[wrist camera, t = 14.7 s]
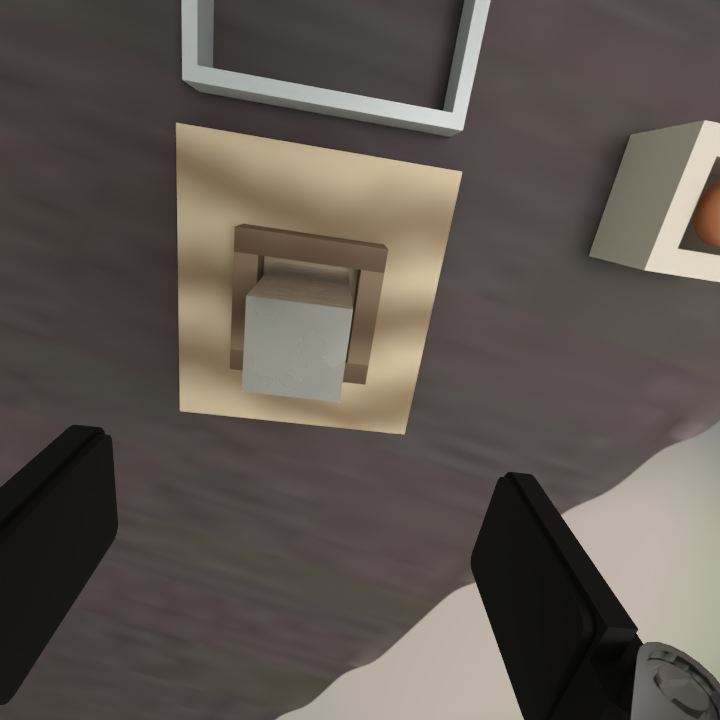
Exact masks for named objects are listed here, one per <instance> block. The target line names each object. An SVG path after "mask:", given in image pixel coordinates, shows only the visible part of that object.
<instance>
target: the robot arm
mask: <svg viewBox="0 0 720 720" xmlns="http://www.w3.org/2000/svg"><path fill="white" fill-rule="evenodd" d="M117 529H118V518H117V504H116V490H115V476H114V462H113V448H112V438H111V436H110V435H106V434H105V432H104V430H103V429H102V428H100V427H92V426H83V425H72V426H70V427H69V428H68V429H66V430H65V431H64V432H63V433H62V434H61V435H60V436H58V437H57V438H56V439H55V440H54V441H53V442H52V443H51V444H49V445H48V446H47V447H46V448H45V449H44V450H43V451H41V452H40V453H39V454H38V455H37V456H36V457H35V458H33V459H32V460H31V461H30V462H29V463H28V464H27V465H25V466H24V467H23V468H22V469H21V470H20V471H19V472H18V473H16V474H15V475H14V476H13V477H12V478H11V479H10V480H8V481H7V482H6V483H5V484H4V485H3V486H2V487H0V705H4V704H6V703H8V702H9V701H10V700H11V699H12V697H13V696H14V695H15V693H16V692H17V690H18V689H19V687H20V686H21V684H22V682H23V681H24V679H25V678H26V676H27V675H28V673H29V672H30V670H31V668H32V667H33V665H34V664H35V662H36V661H37V659H38V658H39V656H40V654H41V653H42V651H43V650H44V648H45V647H46V645H47V644H48V642H49V640H50V639H51V637H52V636H53V634H54V633H55V631H56V630H57V628H58V626H59V625H60V623H61V622H62V620H63V619H64V617H65V616H66V614H67V612H68V611H69V609H70V608H71V606H72V605H73V603H74V602H75V600H76V598H77V597H78V595H79V594H80V592H81V591H82V589H83V588H84V586H85V584H86V583H87V581H88V580H89V578H90V577H91V575H92V574H93V572H94V570H95V569H96V567H97V566H98V564H99V563H100V561H101V560H102V558H103V556H104V555H105V553H106V552H107V550H108V549H109V547H110V546H111V544H112V542H113V541H114V539H115V536H116V533H117ZM471 569H472V572H473V575H474V578H475V581H476V584H477V587H478V589H479V593H480V595H481V598H482V601H483V604H484V607H485V610H486V612H487V615H488V618H489V621H490V624H491V627H492V630H493V633H494V635H495V638H496V641H497V644H498V647H499V650H500V653H501V655H502V658H503V661H504V664H505V667H506V670H507V673H508V675H509V678H510V681H511V684H512V687H513V690H514V693H515V695H516V698H517V701H518V704H519V707H520V710H521V713H522V715H523V718H524V720H720V683H719V682H718V681H717V680H716V678H715V677H714V676H713V675H712V674H711V673H710V672H709V671H708V670H707V669H705V668H704V667H703V666H702V665H701V664H700V663H699V662H697V661H696V660H694V659H693V658H691V657H690V656H689V655H687V654H686V653H684V652H682V651H680V650H678V649H676V648H674V647H672V646H670V645H667V644H663V643H660V642H647V643H645V644H643V643H642V641H641V640H640V639H639V637H638V635H637V634H636V632H637V631H638V628H637V627H636V625H635V624H634V622H633V621H632V620H631V618H630V617H629V615H628V614H627V612H626V611H625V609H624V608H623V606H622V605H621V603H620V602H619V600H618V599H617V597H616V596H615V594H614V593H613V592H612V590H611V589H610V587H609V586H608V584H607V583H606V581H605V580H604V579H603V577H602V575H601V574H600V573H599V571H598V570H597V568H596V567H595V565H594V564H593V562H592V561H591V559H590V558H589V556H588V555H587V553H586V552H585V551H584V549H583V548H582V546H581V545H580V543H579V542H578V540H577V539H576V537H575V536H574V534H573V533H572V531H571V530H570V528H569V527H568V526H567V524H566V523H565V521H564V520H563V518H562V517H561V515H560V514H559V512H558V511H557V509H556V508H555V506H554V505H553V504H552V502H551V501H550V499H549V498H548V496H547V495H546V493H545V492H544V490H543V489H542V487H541V486H540V484H539V483H538V481H537V480H536V479H535V477H534V476H533V475H531V474H524V473H515V472H508V473H507V474H506V475H505V476H504V477H500V478H499V479H498V481H497V484H496V487H495V490H494V492H493V495H492V498H491V501H490V504H489V507H488V510H487V512H486V515H485V518H484V521H483V524H482V527H481V529H480V532H479V535H478V538H477V541H476V544H475V546H474V549H473V552H472V555H471Z"/></svg>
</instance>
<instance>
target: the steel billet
mask: <svg viewBox="0 0 720 720" xmlns="http://www.w3.org/2000/svg"><path fill="white" fill-rule="evenodd" d="M352 314H353V304H352V296H351V288H350V280H349V272H347V271H340V270H333V269H326V268H318V267H311V266H304V265H297V264H290V263H283V262H276V263H275V264H274V265H273V266H272V267H271V268H270V269H269V270H268V272H267V273H266V274H265V275H264V276H263V277H262V278H261V279H260V281H259V282H258V283H257V284H256V285H255V286H254V287H253V288H252V290H251V291H250V292H249V293H248V294H247V295H246V311H245V332H244V353H243V375H242V392H250V393H259V394H268V395H277V396H286V397H295V398H305V399H314V400H323V401H332V402H340V396H341V389H342V382H343V375H344V369H345V362H346V355H347V348H348V341H349V334H350V328H351V321H352Z"/></svg>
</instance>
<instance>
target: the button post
mask: <svg viewBox="0 0 720 720" xmlns="http://www.w3.org/2000/svg"><path fill="white" fill-rule="evenodd" d="M718 180H720V123H716V122H711V121H706V120H704V121H698V122H693V123H688V124H683V125H678V126H673V127H668V128H663V129H657V130H652V131H647V132H642V133H637V134H632V135H630V138H629V141H628V144H627V147H626V150H625V153H624V155H623V158H622V161H621V164H620V167H619V170H618V173H617V176H616V178H615V181H614V184H613V187H612V190H611V193H610V196H609V198H608V201H607V204H606V207H605V210H604V213H603V216H602V219H601V221H600V224H599V227H598V230H597V233H596V236H595V239H594V242H593V244H592V247H591V250H590V253H589V256H590V257H594V258H598V259H602V260H606V261H610V262H614V263H618V264H621V265H625V266H629V267H633V268H637V269H641V270H645V271H652V272H658V273H665V274H671V275H678V276H684V277H691V278H697V279H704V280H710V281H717V282H720V246H714V245H709V244H707V243H705V242H703V241H702V240H701V239H700V238H699V237H698V236H697V234H696V232H695V228H694V214H695V210H696V208H697V205H698V203H699V201H700V199H701V198H702V196H703V195H704V193H705V192H706V191H707V190H708V189H709V188H710V187H711V186H712V185H713V184H714V183H715V182H717V181H718Z"/></svg>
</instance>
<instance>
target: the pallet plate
mask: <svg viewBox="0 0 720 720" xmlns="http://www.w3.org/2000/svg"><path fill="white" fill-rule="evenodd" d="M176 162H177V234H178V307H179V379H180V411H184V412H194V413H203V414H213V415H222V416H232V417H242V418H251V419H261V420H271V421H280V422H290V423H299V424H309V425H319V426H328V427H338V428H348V429H357V430H367V431H376V432H386V433H396V434H405V430H406V425H407V421H408V416H409V412H410V407H411V403H412V398H413V394H414V389H415V384H416V380H417V375H418V371H419V366H420V362H421V357H422V353H423V348H424V344H425V339H426V335H427V330H428V326H429V321H430V317H431V312H432V307H433V303H434V298H435V294H436V289H437V285H438V280H439V276H440V271H441V267H442V262H443V258H444V253H445V249H446V244H447V239H448V235H449V230H450V226H451V221H452V217H453V212H454V208H455V203H456V199H457V194H458V190H459V185H460V181H461V176H462V172H461V171H455V170H449V169H443V168H438V167H432V166H426V165H420V164H414V163H408V162H403V161H397V160H391V159H385V158H379V157H373V156H368V155H362V154H356V153H350V152H344V151H338V150H333V149H327V148H321V147H315V146H309V145H304V144H298V143H292V142H286V141H280V140H274V139H269V138H263V137H257V136H251V135H245V134H239V133H234V132H228V131H222V130H216V129H210V128H204V127H199V126H193V125H187V124H181V123H176ZM276 262H283V263H290V264H297V265H304V266H311V267H318V268H326V269H333V270H340V271H347V272H349V280H350V288H351V296H352V304H353V314H352V321H351V328H350V334H349V341H348V348H347V355H346V362H345V369H344V375H343V382H342V389H341V396H340V402H332V401H323V400H314V399H305V398H295V397H286V396H277V395H268V394H259V393H250V392H242V375H243V353H244V332H245V311H246V295H247V294H248V293H249V292H250V291H251V290H252V288H253V287H254V286H255V285H256V284H257V283H258V282H259V281H260V279H261V278H262V277H263V276H264V275H265V274H266V273H267V272H268V270H269V269H270V268H271V267H272V266H273V265H274V264H275V263H276Z"/></svg>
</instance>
